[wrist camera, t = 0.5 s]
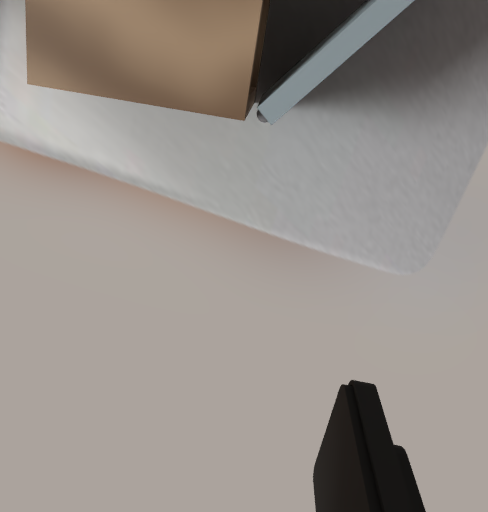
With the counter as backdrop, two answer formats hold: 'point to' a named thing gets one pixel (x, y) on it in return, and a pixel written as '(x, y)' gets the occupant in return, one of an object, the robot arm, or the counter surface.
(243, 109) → the cabinet
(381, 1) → the door
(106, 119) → the counter surface
